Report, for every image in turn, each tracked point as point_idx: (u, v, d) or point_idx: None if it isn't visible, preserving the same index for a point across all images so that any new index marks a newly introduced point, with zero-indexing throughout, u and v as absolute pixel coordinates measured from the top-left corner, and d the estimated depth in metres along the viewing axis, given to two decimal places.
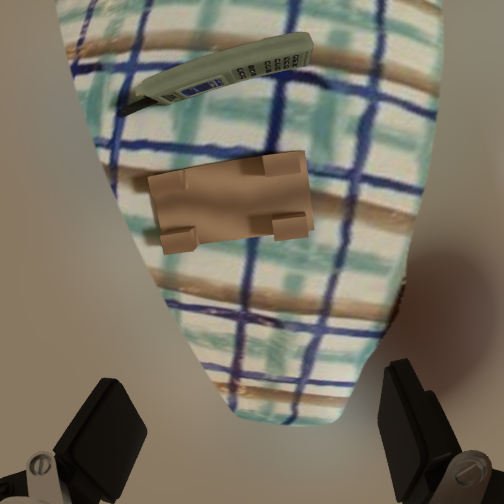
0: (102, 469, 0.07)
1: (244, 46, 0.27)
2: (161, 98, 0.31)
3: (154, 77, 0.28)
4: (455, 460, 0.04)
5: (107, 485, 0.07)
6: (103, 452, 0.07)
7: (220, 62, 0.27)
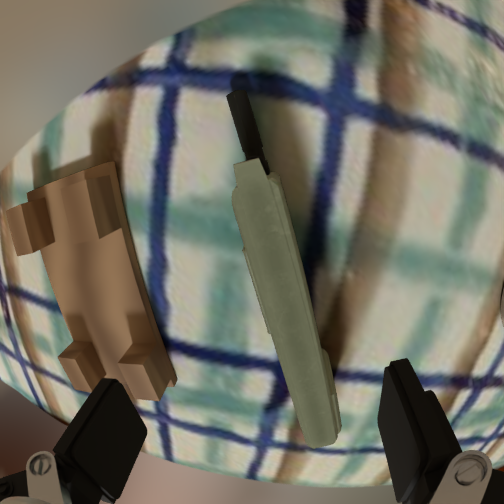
0: (102, 469, 0.07)
1: (320, 382, 0.17)
2: None
3: (278, 212, 0.14)
4: (455, 460, 0.04)
5: (107, 485, 0.07)
6: (103, 452, 0.07)
7: (292, 350, 0.16)
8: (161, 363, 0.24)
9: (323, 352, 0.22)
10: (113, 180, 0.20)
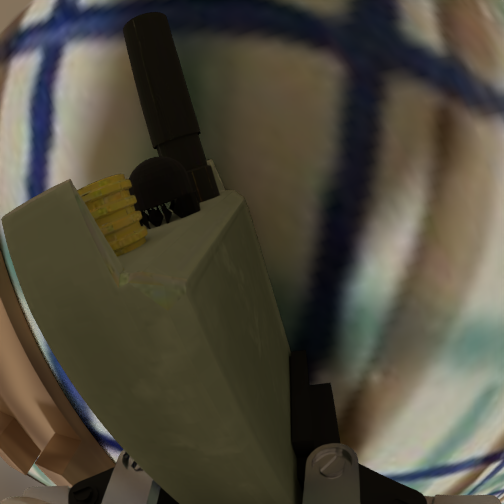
0: None
1: None
2: None
3: (187, 404, 0.03)
4: (319, 449, 0.06)
5: None
6: None
7: None
8: (93, 462, 0.13)
9: None
10: None
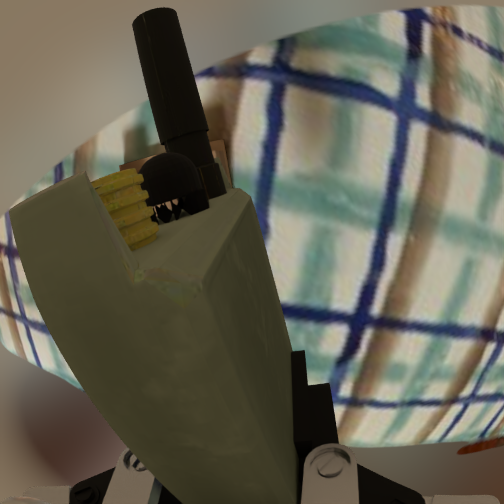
0: None
1: None
2: None
3: (199, 404, 0.03)
4: (318, 450, 0.06)
5: None
6: None
7: None
8: None
9: None
10: (224, 155, 0.24)
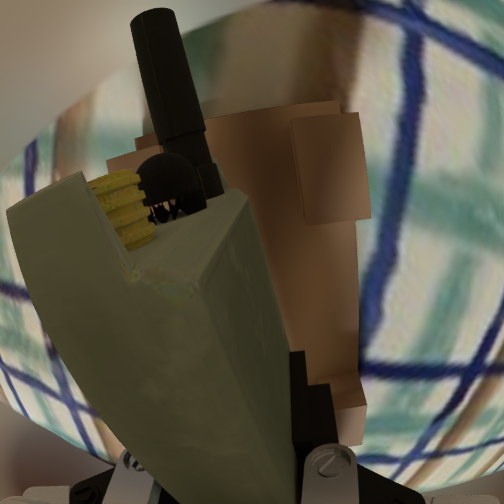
0: None
1: None
2: None
3: (196, 404, 0.03)
4: (318, 449, 0.06)
5: None
6: None
7: None
8: None
9: None
10: None
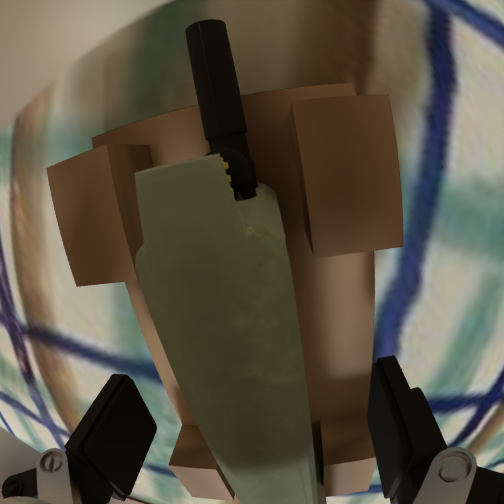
0: (113, 465, 0.07)
1: None
2: None
3: (271, 332, 0.04)
4: (439, 456, 0.04)
5: (118, 481, 0.07)
6: (114, 448, 0.07)
7: None
8: None
9: (314, 457, 0.13)
10: None
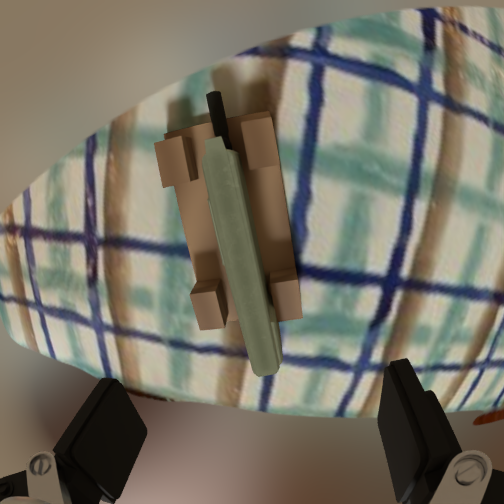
0: (102, 469, 0.07)
1: (261, 306, 0.24)
2: None
3: (231, 171, 0.20)
4: (455, 460, 0.04)
5: (107, 485, 0.07)
6: (103, 452, 0.07)
7: (239, 275, 0.23)
8: None
9: (269, 296, 0.29)
10: None
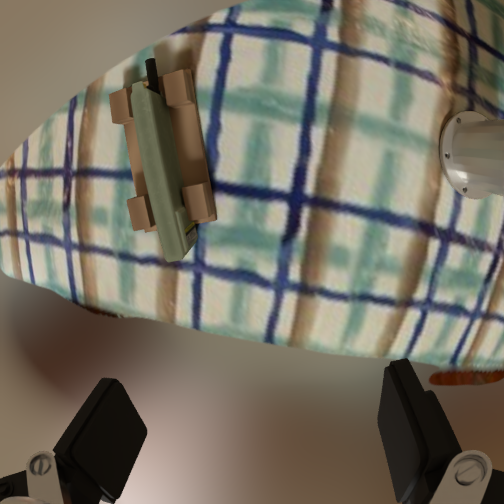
0: (102, 469, 0.07)
1: (165, 195, 0.30)
2: None
3: (147, 101, 0.27)
4: (455, 460, 0.04)
5: (107, 485, 0.07)
6: (103, 452, 0.07)
7: (150, 171, 0.30)
8: (209, 196, 0.36)
9: None
10: (191, 78, 0.32)
